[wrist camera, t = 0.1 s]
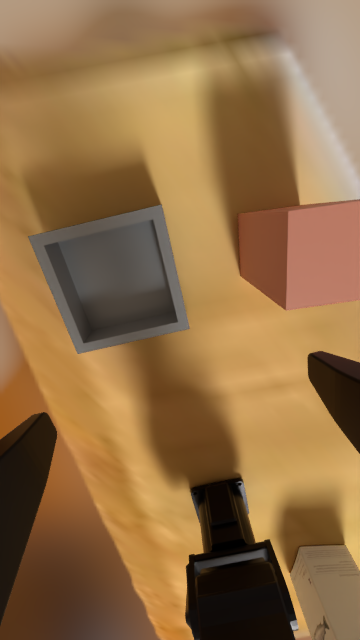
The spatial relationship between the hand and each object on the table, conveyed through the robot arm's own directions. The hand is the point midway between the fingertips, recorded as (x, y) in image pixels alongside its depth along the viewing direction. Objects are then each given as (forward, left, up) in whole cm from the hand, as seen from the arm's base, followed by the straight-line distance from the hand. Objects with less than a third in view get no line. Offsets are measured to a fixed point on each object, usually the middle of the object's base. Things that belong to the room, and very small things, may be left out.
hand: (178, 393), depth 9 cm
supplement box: (-46, -12, -15) cm, 50 cm away
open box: (+2, +4, -15) cm, 15 cm away
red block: (+2, -9, -15) cm, 17 cm away
